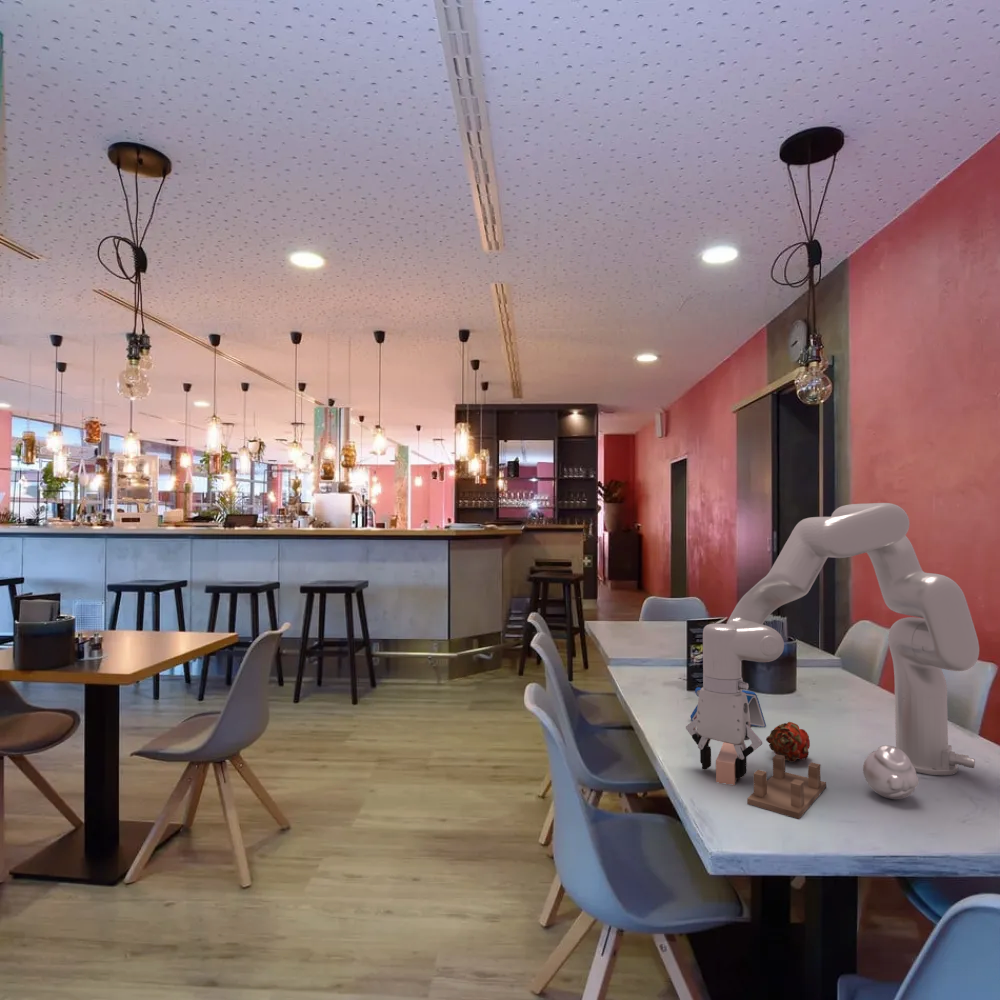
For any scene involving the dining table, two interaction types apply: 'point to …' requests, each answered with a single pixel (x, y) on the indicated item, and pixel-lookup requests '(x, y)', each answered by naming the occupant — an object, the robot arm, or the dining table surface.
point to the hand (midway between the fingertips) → (723, 771)
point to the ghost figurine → (890, 772)
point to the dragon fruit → (789, 741)
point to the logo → (754, 709)
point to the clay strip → (726, 764)
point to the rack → (786, 789)
